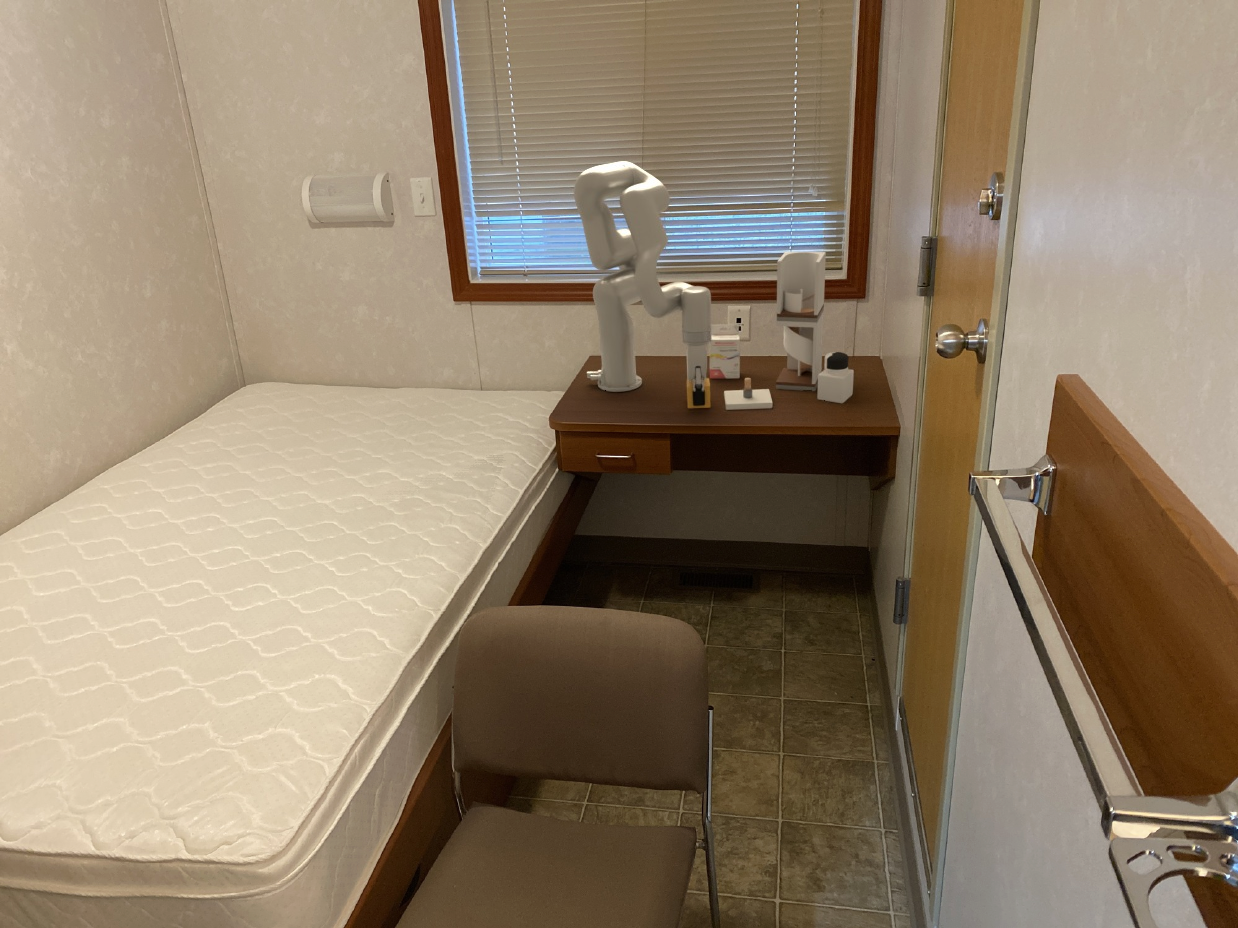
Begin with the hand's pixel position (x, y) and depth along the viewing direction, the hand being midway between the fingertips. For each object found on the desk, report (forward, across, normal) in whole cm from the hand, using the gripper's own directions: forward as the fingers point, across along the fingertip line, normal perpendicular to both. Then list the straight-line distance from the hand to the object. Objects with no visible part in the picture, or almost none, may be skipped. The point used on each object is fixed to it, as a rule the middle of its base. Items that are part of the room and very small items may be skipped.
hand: (698, 399), depth 242 cm
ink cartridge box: (+1, -21, +8) cm, 23 cm away
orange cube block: (+1, 0, 0) cm, 1 cm away
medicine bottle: (+1, -1, +36) cm, 36 cm away
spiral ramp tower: (+1, -13, +28) cm, 31 cm away
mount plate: (+1, 0, +13) cm, 13 cm away
